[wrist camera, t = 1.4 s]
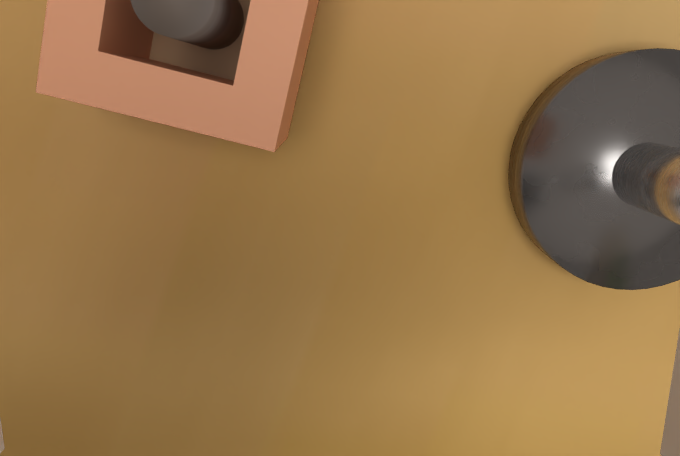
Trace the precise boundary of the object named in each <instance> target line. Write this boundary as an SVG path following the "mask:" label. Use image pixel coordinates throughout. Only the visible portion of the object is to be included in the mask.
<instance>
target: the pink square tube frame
mask: <svg viewBox="0 0 680 456" xmlns="http://www.w3.org/2000/svg"><path fill="white" fill-rule="evenodd" d="M318 2H319V0H251V1H250V6H249V11H248V15H247V20H246V25H245V30H244V35H243V40H242V45H241V50H240V55H239V60H238V65H237V70H236V74H235V79H234V80H230V79H226V78H222V77H218V76H214V75H210V74H206V73H202V72H198V71H195V70H191V69H187V68H183V67H179V66H175V65H171V64H167V63H163V62H159V61H156V60H152V59H149V58H150V52H151V46H152V40H153V34H154V32H153V31H152V30H150V29H149V28H147V27H146V26H145V25H144V24H143V23H142V22H141V21H140V19H139V18H138V17H137V15H136V13H135V12H134V9H133V7H132V4H131V0H47V8H46V16H45V24H44V31H43V39H42V47H41V55H40V63H39V71H38V78H37V86H36V92H37V93H41V94H45V95H49V96H53V97H57V98H61V99H65V100H69V101H73V102H77V103H81V104H85V105H89V106H93V107H97V108H101V109H105V110H109V111H113V112H117V113H121V114H125V115H129V116H133V117H137V118H141V119H145V120H149V121H153V122H157V123H161V124H165V125H169V126H173V127H177V128H181V129H185V130H189V131H193V132H197V133H201V134H205V135H209V136H213V137H217V138H221V139H225V140H229V141H233V142H237V143H241V144H245V145H249V146H253V147H257V148H261V149H265V150H269V151H273V152H275V151H276V150H277V149H278V148H279V146H280V145H281V144H282V143H283V142H284V141H285V140H286V139H287V137H288V133H289V129H290V124H291V120H292V116H293V111H294V107H295V102H296V98H297V94H298V89H299V85H300V81H301V76H302V72H303V67H304V63H305V59H306V54H307V50H308V46H309V41H310V37H311V33H312V28H313V24H314V19H315V15H316V11H317V6H318Z"/></svg>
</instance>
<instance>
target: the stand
mask: <svg viewBox="0 0 680 456" xmlns="http://www.w3.org/2000/svg"><path fill="white" fill-rule="evenodd" d="M250 1H251V0H131V4H132V7H133V9H134V12H135V13H136V15H137V17H138V18H139V19H140V21H141V22H142V23H143V24H144V25H145V26H146V27H147V28H149V29H150V30H152V31H153V32H154V34H153V40H152V46H151V52H150V58H149V59H152V60H156V61H159V62H163V63H167V64H171V65H175V66H179V67H183V68H187V69H191V70H195V71H198V72H202V73H206V74H210V75H214V76H218V77H222V78H226V79H230V80H234V79H235V74H236V70H237V65H238V60H239V55H240V50H241V45H242V40H243V35H244V30H245V25H246V20H247V15H248V11H249V6H250Z"/></svg>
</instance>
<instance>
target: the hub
mask: <svg viewBox="0 0 680 456" xmlns="http://www.w3.org/2000/svg"><path fill="white" fill-rule="evenodd" d="M509 189H510V196H511V200H512V204H513V207H514V211H515V213H516V215H517V218H518V220H519V222H520V224H521V226H522V227H523V229H524V231H525V232H526V234H527V235H528V237H529V238H530V239H531V240H532V241H533V242H534V244H535V245H536V246H537V247H538V248H539V249H541V250H542V251H543V252H544V253H545V254H546V255H548V256H549V257H550V258H551V259H553V260H554V261H555V262H556V263H558V264H559V265H560V266H561V267H563V268H564V269H565V270H567V271H569V272H570V273H572V274H573V275H575V276H576V277H579V278H581V279H583V280H585V281H587V282H590V283H593V284H596V285H599V286H602V287H608V288H613V289H626V290H636V289H648V288H653V287H658V286H662V285H665V284H669V283H672V282H675V281H678V280H680V50H675V49H658V48H657V49H645V50H636V51H628V52H619V53H613V54H609V55H604V56H600V57H597V58H595V59H592V60H589V61H586V62H584V63H582V64H580V65H578V66H576V67H574V68H572V69H571V70H569V71H568V72H566V73H565V74H563V75H562V76H560V77H559V78H558V79H557V80H555V81H554V82H553V83H552V84H551V85H550V86H549V87H547V88H546V89H545V91H544V92H543V93H542V94H541V95H540V96H539V97H538V98H537V99H536V101H535V102H534V103H533V105H532V106H531V108H530V109H529V111H528V112H527V114H526V115H525V117H524V119H523V121H522V123H521V125H520V127H519V129H518V132H517V134H516V137H515V139H514V143H513V147H512V151H511V155H510V163H509Z"/></svg>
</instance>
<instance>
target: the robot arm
mask: <svg viewBox="0 0 680 456" xmlns="http://www.w3.org/2000/svg"><path fill="white" fill-rule="evenodd" d="M4 449H5V448H4V441H3V434H2V427H1V420H0V453H1V452H2V451H3V450H4ZM660 454H661V455H662V456H680V330H679V336H678V343H677V349H676V355H675V362H674V368H673V374H672V381H671V387H670V394H669V400H668V406H667V413H666V419H665V425H664V432H663V438H662V444H661V451H660Z"/></svg>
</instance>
